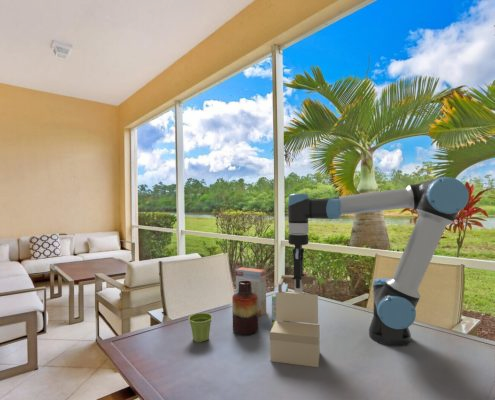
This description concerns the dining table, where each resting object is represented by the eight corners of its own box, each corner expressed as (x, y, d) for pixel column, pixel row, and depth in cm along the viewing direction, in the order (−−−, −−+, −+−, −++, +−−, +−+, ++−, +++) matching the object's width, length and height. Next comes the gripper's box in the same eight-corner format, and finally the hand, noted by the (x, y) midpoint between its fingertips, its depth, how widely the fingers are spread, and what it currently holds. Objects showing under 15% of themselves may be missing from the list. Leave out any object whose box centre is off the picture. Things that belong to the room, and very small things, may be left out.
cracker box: (266, 312, 154) (266, 269, 153) (260, 316, 149) (260, 272, 148) (242, 307, 161) (242, 266, 161) (235, 311, 156) (235, 268, 156)
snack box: (284, 333, 130) (284, 297, 130) (271, 332, 131) (270, 296, 131) (288, 314, 151) (288, 283, 151) (276, 314, 152) (276, 282, 152)
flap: (318, 323, 114) (319, 312, 123) (317, 284, 112) (318, 276, 121) (276, 319, 117) (280, 309, 127) (275, 281, 116) (279, 273, 125)
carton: (319, 352, 114) (319, 324, 114) (318, 367, 104) (318, 337, 104) (275, 347, 118) (275, 320, 118) (270, 361, 108) (269, 332, 108)
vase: (262, 333, 131) (261, 283, 130) (237, 337, 127) (237, 286, 127) (252, 323, 141) (251, 277, 141) (229, 327, 137) (228, 280, 137)
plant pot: (206, 346, 120) (206, 323, 120) (184, 342, 123) (184, 320, 123) (216, 335, 129) (216, 314, 129) (196, 332, 132) (195, 311, 132)
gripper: (291, 231, 131) (291, 288, 131) (285, 236, 115) (286, 300, 116) (309, 231, 129) (309, 289, 129) (306, 236, 113) (307, 302, 114)
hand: (298, 294), depth 122 cm, fingers closed on flap, 3 cm apart
